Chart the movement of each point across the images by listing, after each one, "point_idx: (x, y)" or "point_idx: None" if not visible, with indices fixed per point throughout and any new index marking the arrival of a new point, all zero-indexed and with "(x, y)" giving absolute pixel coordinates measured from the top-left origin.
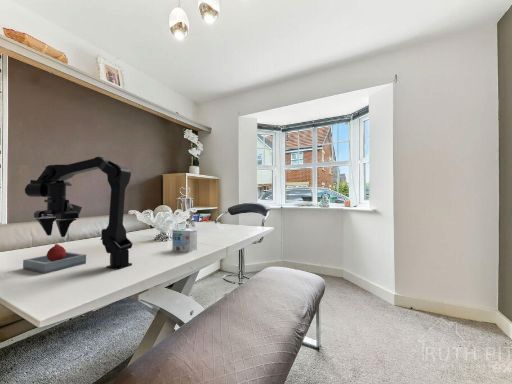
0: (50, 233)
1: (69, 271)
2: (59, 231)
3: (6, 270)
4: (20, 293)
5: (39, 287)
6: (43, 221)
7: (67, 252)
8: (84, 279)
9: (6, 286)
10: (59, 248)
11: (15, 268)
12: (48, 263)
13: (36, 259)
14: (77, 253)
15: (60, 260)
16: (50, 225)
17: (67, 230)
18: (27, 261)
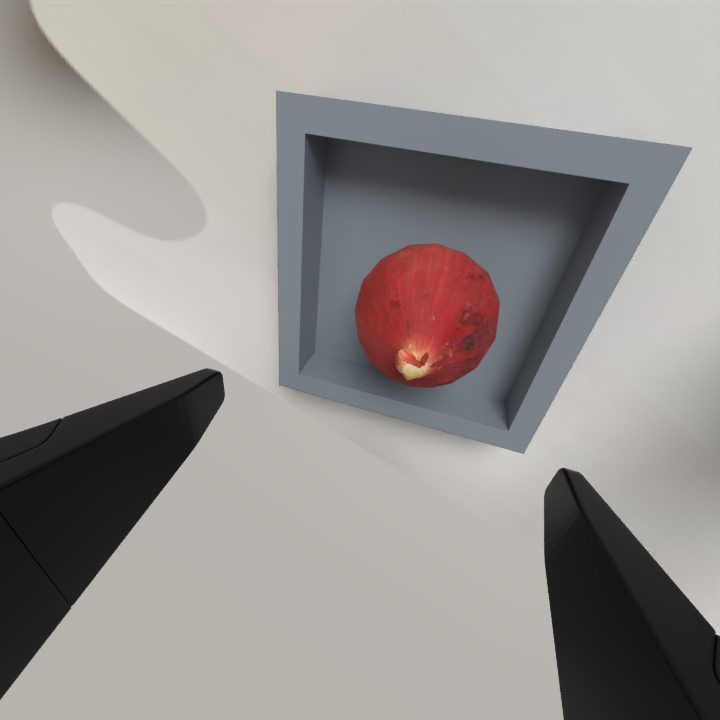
0: (205, 390)
1: (660, 367)
2: (562, 616)
3: (251, 375)
4: None
5: (681, 551)
6: (16, 641)
7: (342, 117)
8: None
9: (504, 528)
10: (469, 358)
11: (249, 346)
12: (531, 438)
13: (303, 333)
14: (510, 124)
15: (563, 381)
16: (79, 482)
17: (670, 579)
18: (327, 395)
